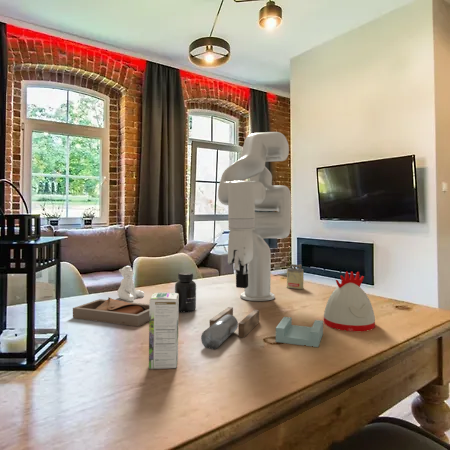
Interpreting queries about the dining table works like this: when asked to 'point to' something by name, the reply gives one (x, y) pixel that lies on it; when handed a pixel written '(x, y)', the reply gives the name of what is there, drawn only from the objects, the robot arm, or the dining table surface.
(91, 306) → the valet tray rim
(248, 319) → the wooden blocks
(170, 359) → the syrup box
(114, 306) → the sunglasses case
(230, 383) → the dining table surface
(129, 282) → the white creature statuette
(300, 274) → the jerry can
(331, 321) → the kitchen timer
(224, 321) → the grey cylinder
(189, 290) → the supplement bottle
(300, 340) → the cradle
